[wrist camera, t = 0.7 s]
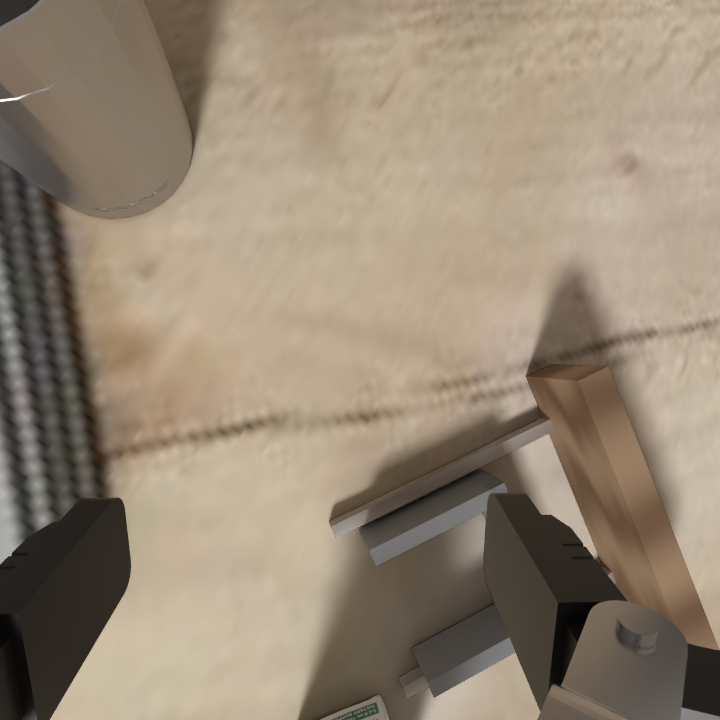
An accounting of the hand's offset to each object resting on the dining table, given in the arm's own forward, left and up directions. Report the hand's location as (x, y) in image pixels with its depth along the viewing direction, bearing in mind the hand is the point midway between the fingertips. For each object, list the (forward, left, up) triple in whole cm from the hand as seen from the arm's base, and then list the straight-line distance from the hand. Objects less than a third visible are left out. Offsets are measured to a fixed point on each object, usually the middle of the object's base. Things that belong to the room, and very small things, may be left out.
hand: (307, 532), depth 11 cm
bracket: (+13, +5, -21) cm, 25 cm away
